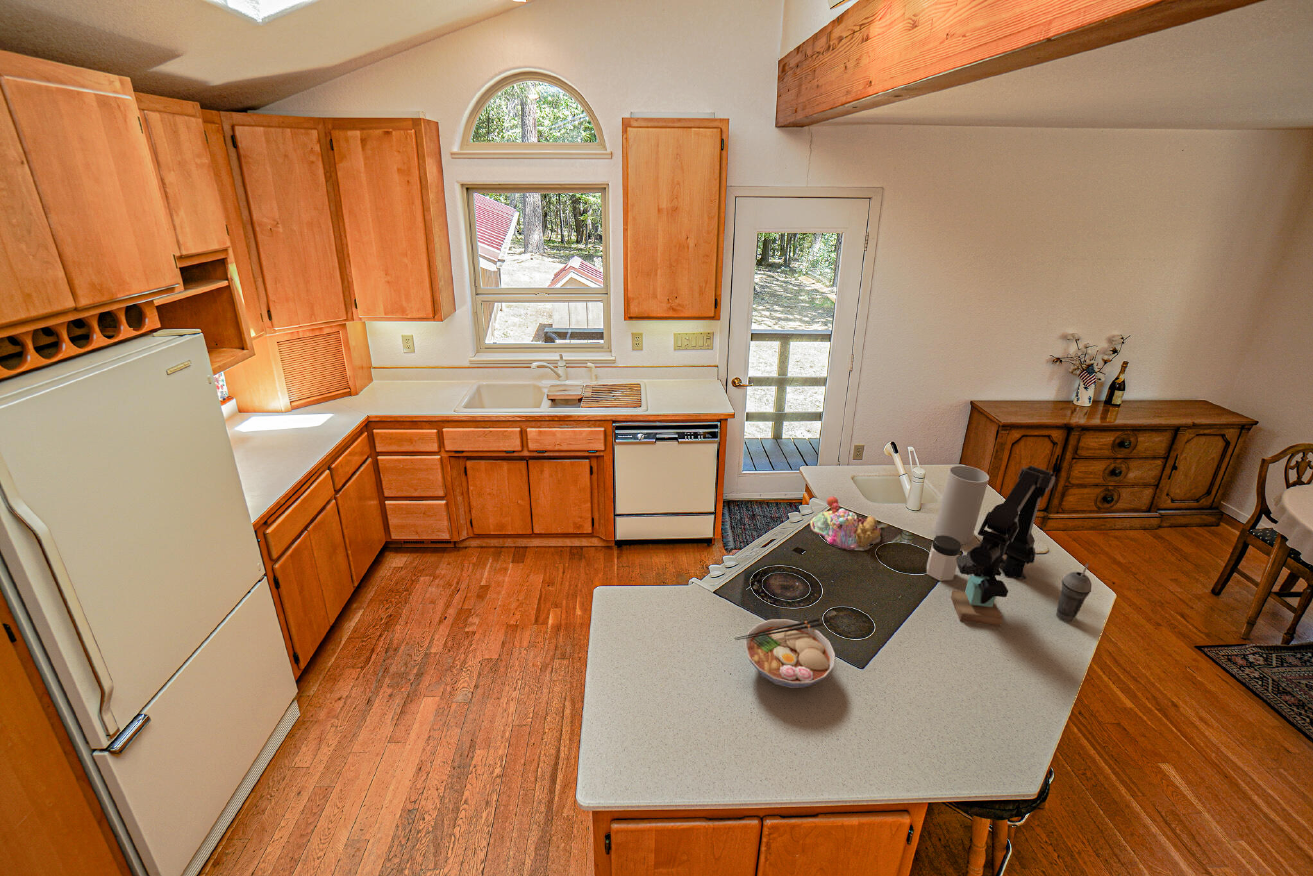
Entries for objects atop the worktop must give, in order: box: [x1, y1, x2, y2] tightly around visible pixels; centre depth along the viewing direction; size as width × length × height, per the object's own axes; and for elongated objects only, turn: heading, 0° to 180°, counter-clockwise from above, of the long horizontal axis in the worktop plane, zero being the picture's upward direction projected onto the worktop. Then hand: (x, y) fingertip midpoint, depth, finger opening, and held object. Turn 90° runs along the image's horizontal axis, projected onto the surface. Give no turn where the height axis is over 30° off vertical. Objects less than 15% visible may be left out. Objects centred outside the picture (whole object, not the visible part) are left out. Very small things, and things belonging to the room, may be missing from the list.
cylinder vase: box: [933, 464, 990, 545], centre depth 221 cm, size 12×12×25 cm
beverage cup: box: [1055, 562, 1092, 623], centre depth 182 cm, size 7×7×20 cm
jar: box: [926, 535, 962, 582], centre depth 202 cm, size 9×8×12 cm
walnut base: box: [950, 589, 1004, 627], centre depth 187 cm, size 11×11×3 cm
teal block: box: [964, 574, 997, 607], centre depth 184 cm, size 6×6×6 cm
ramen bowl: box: [734, 617, 836, 689], centre depth 162 cm, size 25×23×8 cm
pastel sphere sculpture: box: [809, 496, 882, 551], centre depth 224 cm, size 25×24×9 cm
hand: (979, 596), depth 185 cm, fingers closed on teal block, 6 cm apart
